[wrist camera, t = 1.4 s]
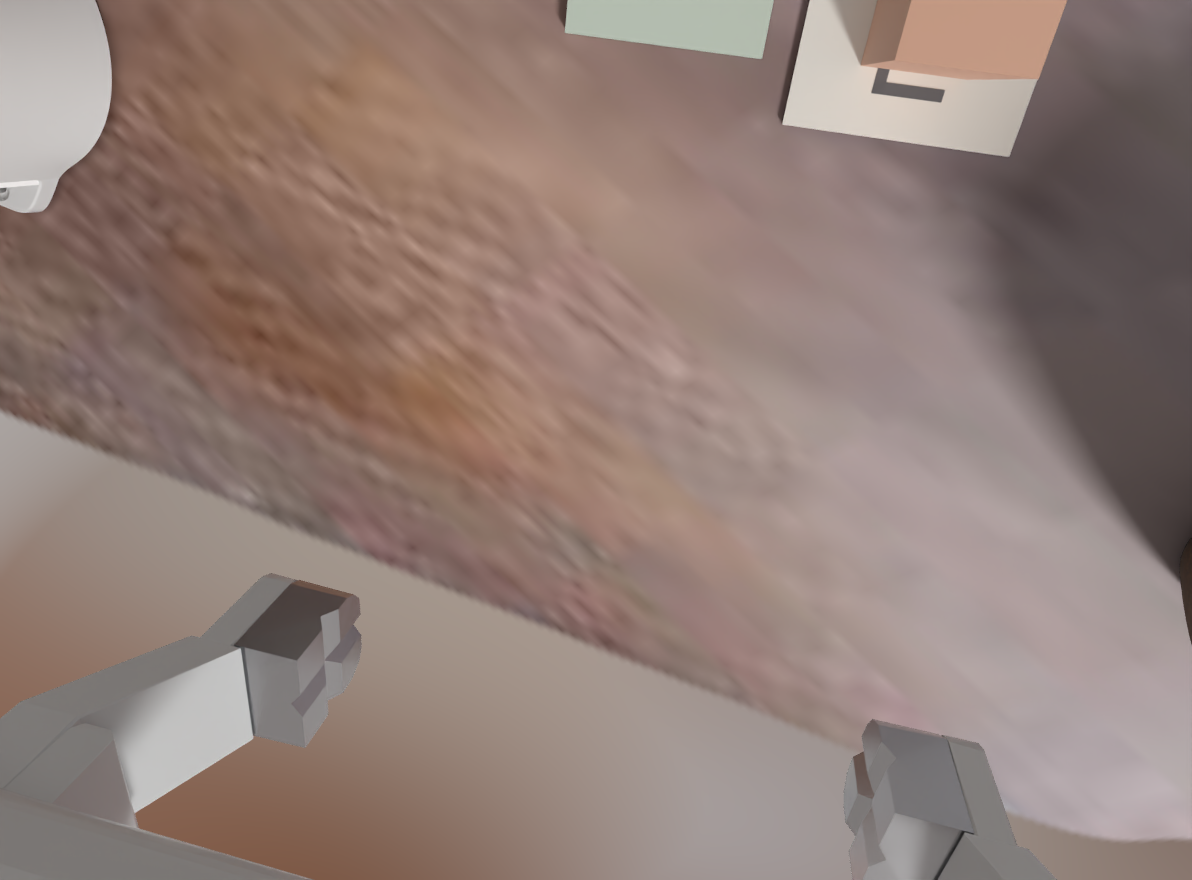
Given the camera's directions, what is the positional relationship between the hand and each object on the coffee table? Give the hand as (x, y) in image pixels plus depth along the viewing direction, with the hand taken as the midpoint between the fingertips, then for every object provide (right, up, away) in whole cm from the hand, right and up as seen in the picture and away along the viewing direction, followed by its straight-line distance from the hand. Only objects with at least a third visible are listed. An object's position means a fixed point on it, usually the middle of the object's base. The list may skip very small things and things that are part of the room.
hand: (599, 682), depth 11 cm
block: (+14, +22, +19) cm, 32 cm away
